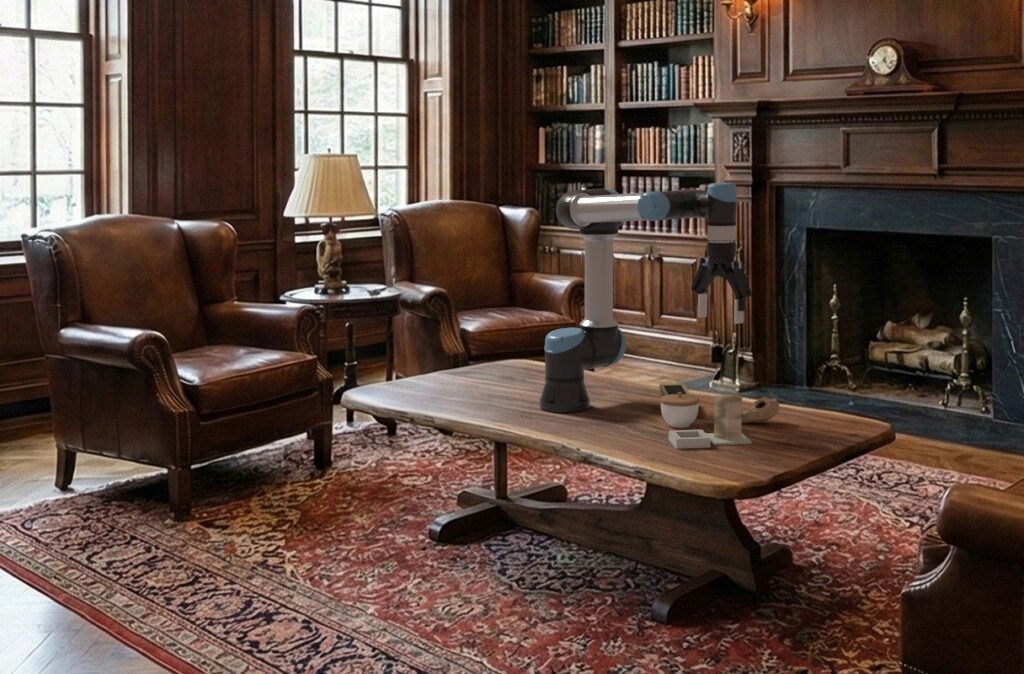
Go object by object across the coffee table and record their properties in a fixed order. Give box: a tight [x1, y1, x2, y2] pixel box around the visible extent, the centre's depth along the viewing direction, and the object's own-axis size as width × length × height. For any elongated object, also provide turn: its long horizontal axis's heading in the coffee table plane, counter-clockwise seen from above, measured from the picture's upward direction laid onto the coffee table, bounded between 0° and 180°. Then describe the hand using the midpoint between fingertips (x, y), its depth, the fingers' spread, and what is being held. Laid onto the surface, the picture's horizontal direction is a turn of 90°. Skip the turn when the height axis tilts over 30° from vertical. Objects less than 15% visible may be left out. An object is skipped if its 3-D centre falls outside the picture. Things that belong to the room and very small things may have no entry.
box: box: [658, 383, 692, 398], centre depth 333 cm, size 8×22×5 cm, turn 5°
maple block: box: [713, 393, 743, 441], centre depth 300 cm, size 5×5×11 cm
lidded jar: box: [660, 392, 700, 428], centre depth 316 cm, size 11×11×9 cm
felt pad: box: [705, 432, 752, 446], centre depth 300 cm, size 10×10×1 cm
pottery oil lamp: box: [741, 397, 780, 424], centre depth 318 cm, size 9×12×7 cm
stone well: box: [668, 429, 712, 450], centre depth 297 cm, size 9×9×2 cm
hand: (720, 320), depth 305 cm, fingers open, 13 cm apart
